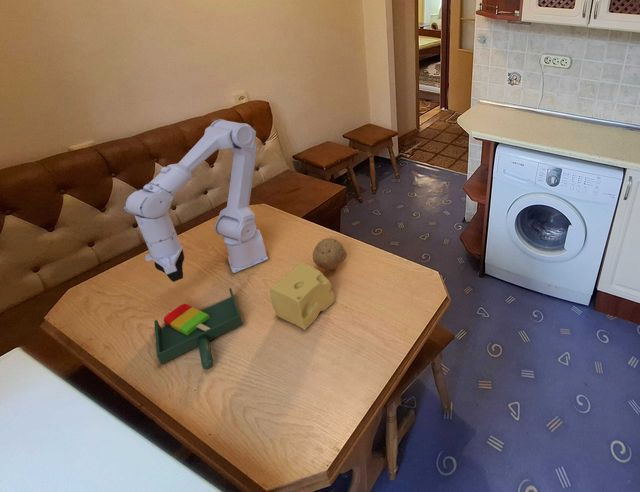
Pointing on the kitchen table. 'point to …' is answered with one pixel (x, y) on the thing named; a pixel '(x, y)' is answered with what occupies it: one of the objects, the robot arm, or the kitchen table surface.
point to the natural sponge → (329, 253)
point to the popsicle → (186, 319)
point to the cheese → (301, 295)
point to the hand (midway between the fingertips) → (177, 278)
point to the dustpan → (198, 333)
